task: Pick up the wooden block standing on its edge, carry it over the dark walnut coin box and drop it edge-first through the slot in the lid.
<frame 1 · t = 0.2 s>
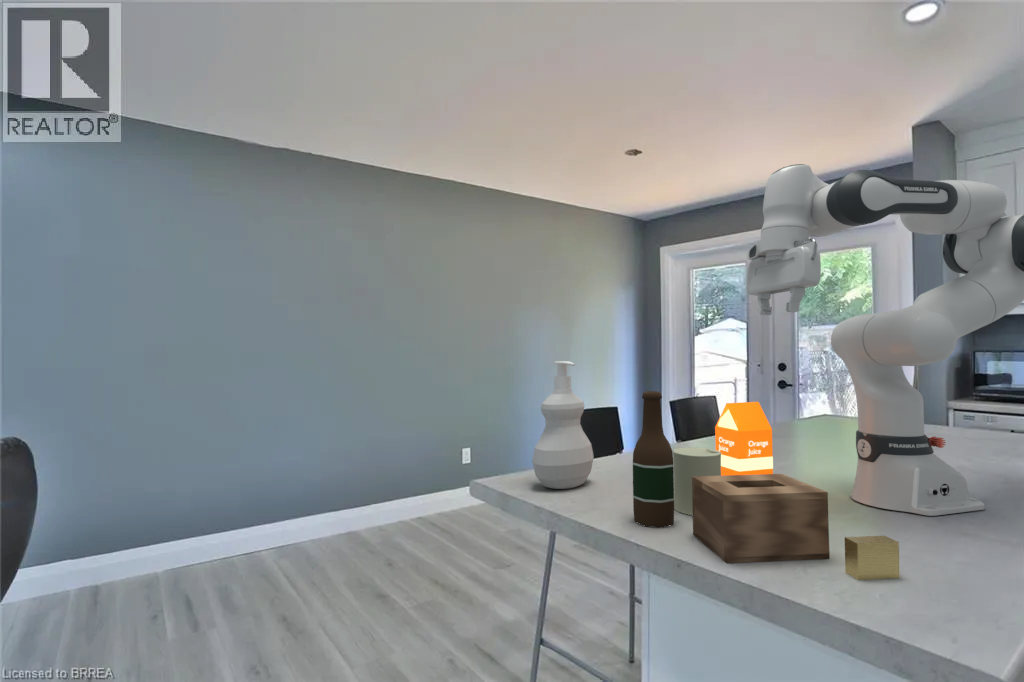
hand: (778, 313, 106), 39 cm above the countertop, tool pointing down, fingers open, 8 cm apart
beer bottle: (654, 522, 98), on the countertop
can: (697, 510, 105), on the countertop
coin box: (756, 546, 85), on the countertop
orange juice: (744, 494, 116), on the countertop
soap bottle: (563, 486, 125), on the countertop
wooden block: (872, 575, 74), on the countertop
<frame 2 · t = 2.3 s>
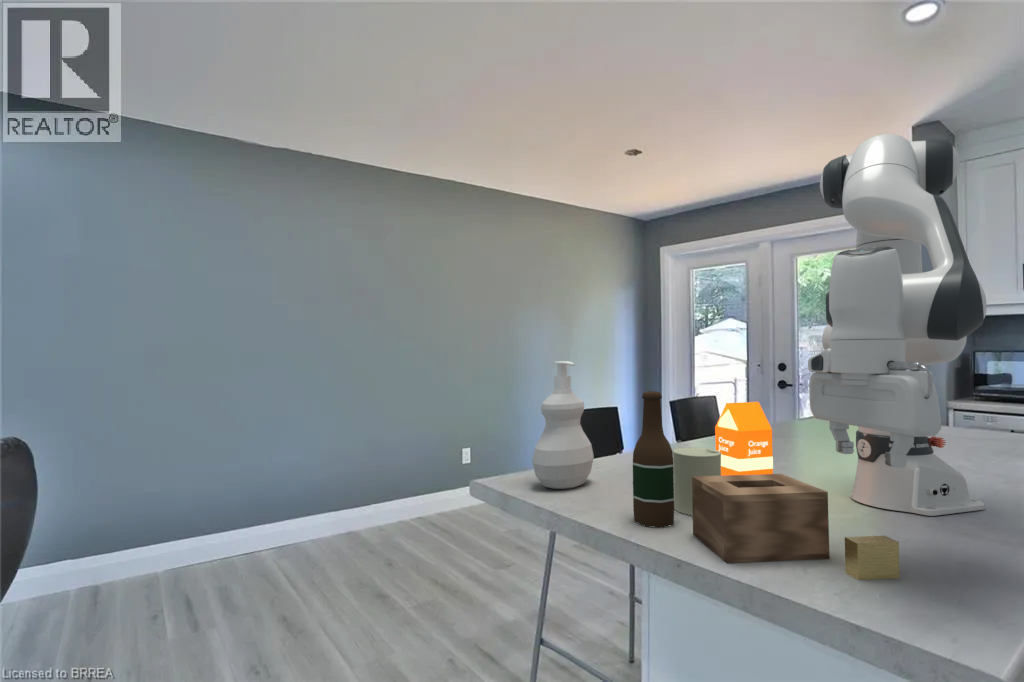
hand: (868, 459, 74), 16 cm above the countertop, tool pointing down, fingers open, 8 cm apart
nothing on the countertop moved.
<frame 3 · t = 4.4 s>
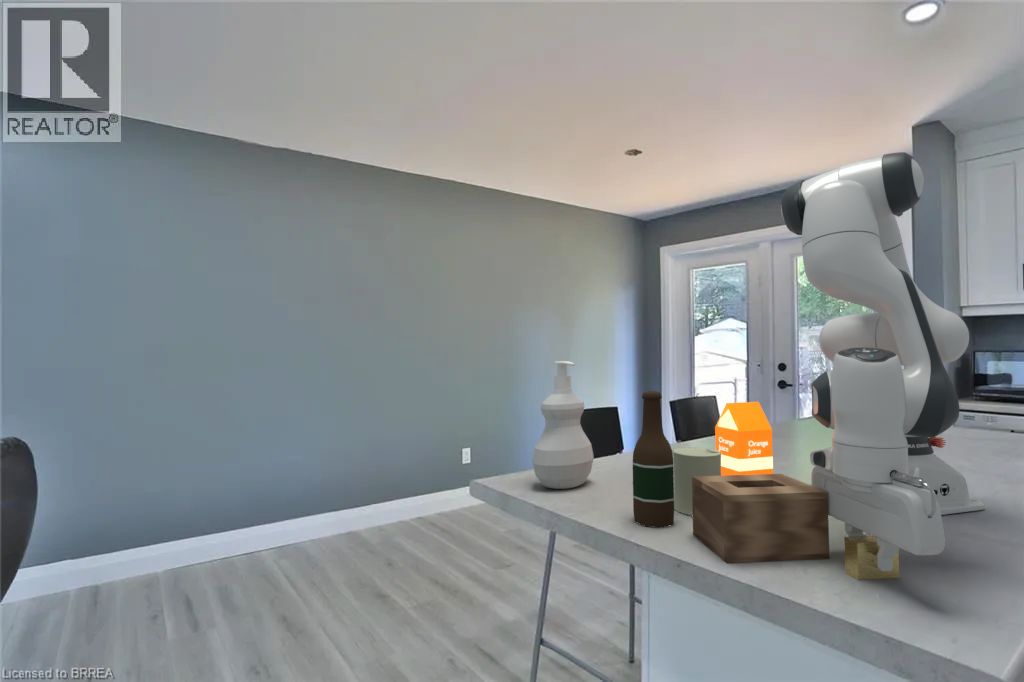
hand: (871, 563, 74), 2 cm above the countertop, tool pointing down, fingers closed on wooden block, 2 cm apart
wooden block: (872, 575, 74), on the countertop, touching gripper
everything else where it was.
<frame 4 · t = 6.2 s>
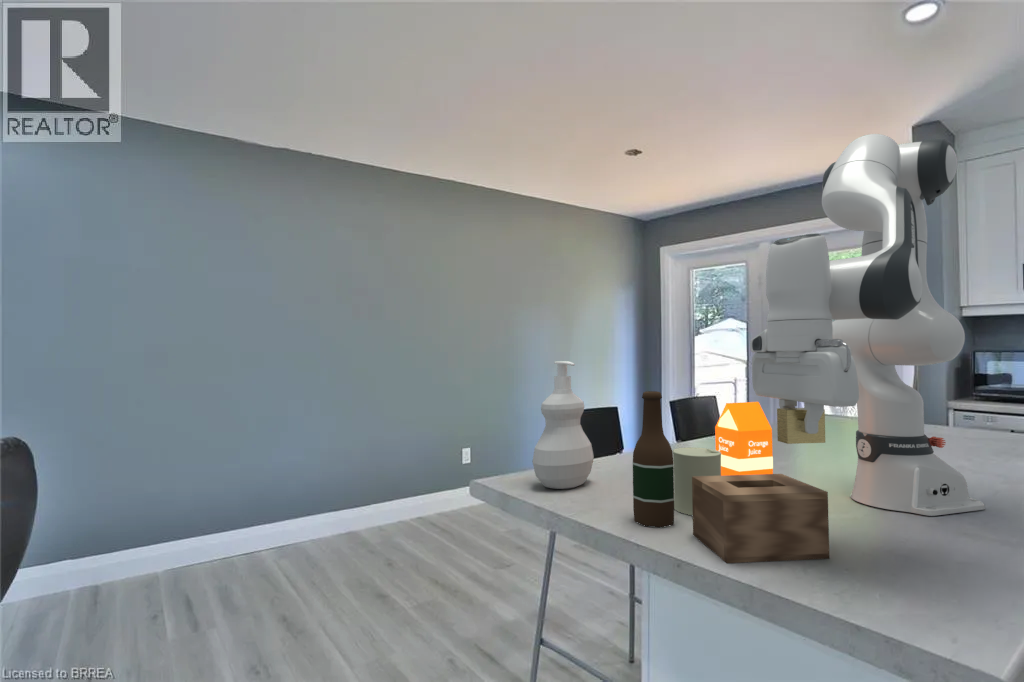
hand: (801, 431, 80), 19 cm above the countertop, tool pointing down, fingers closed on wooden block, 2 cm apart
wooden block: (801, 441, 80), point 18 cm above the countertop, touching gripper
everything else where it was.
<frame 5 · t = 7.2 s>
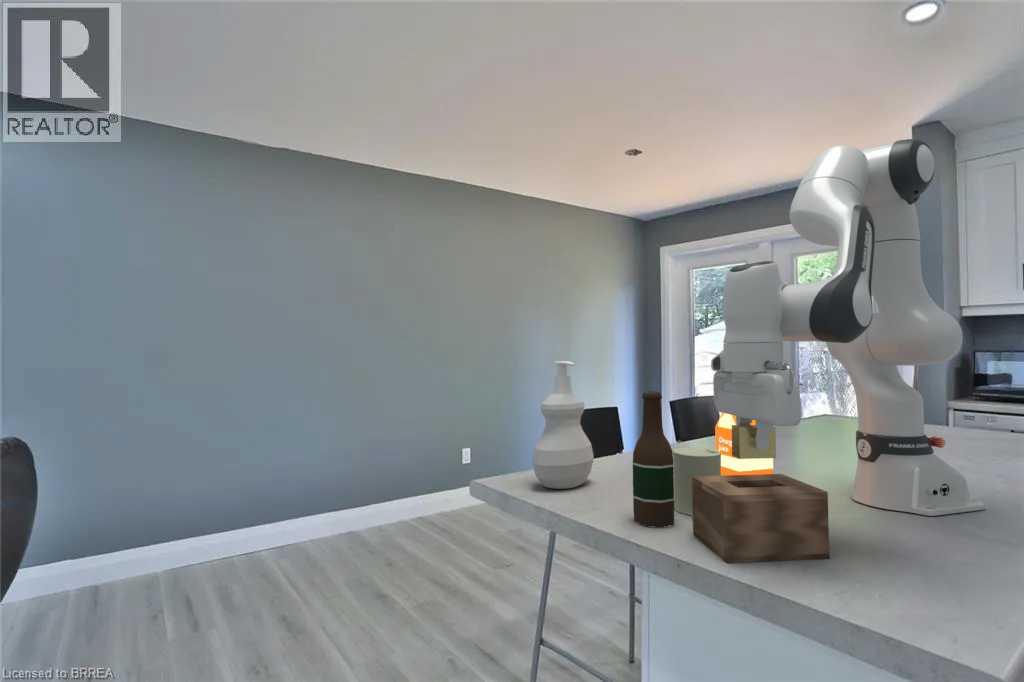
hand: (754, 447, 85), 16 cm above the countertop, tool pointing down, fingers closed on wooden block, 2 cm apart
wooden block: (753, 457, 85), point 14 cm above the countertop, touching gripper
everything else where it was.
when the fingers open (11 cm above the countertop, at t = 8.0 s): wooden block drops 9 cm, resting on coin box.
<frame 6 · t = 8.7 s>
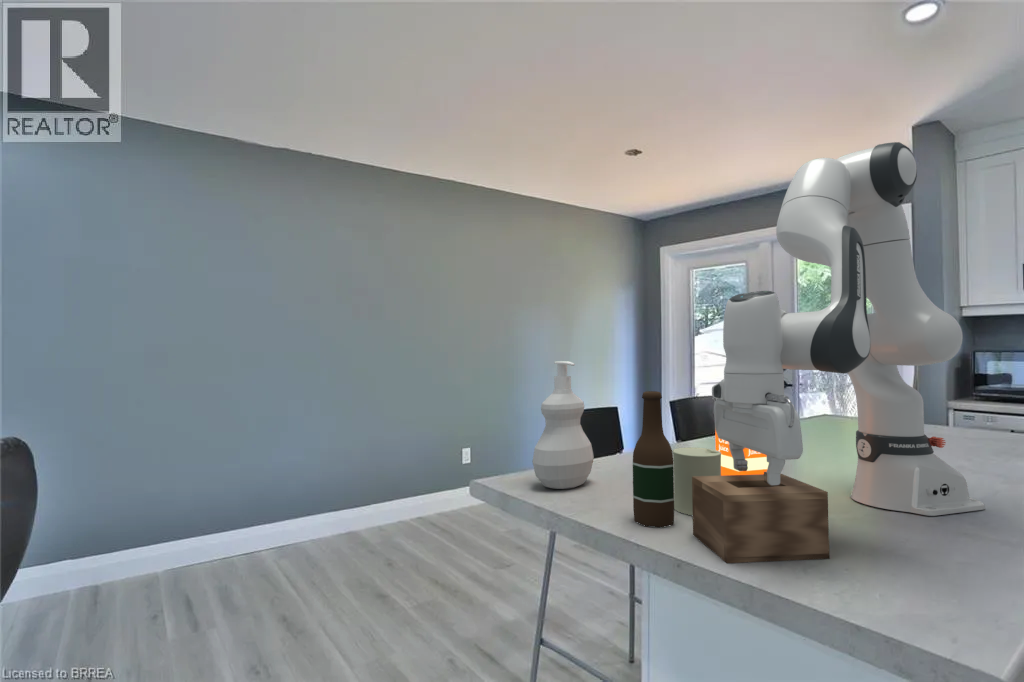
hand: (755, 476, 85), 11 cm above the countertop, tool pointing down, fingers open, 8 cm apart
wooden block: (756, 541, 85), point 1 cm above the countertop, touching coin box
everything else where it was.
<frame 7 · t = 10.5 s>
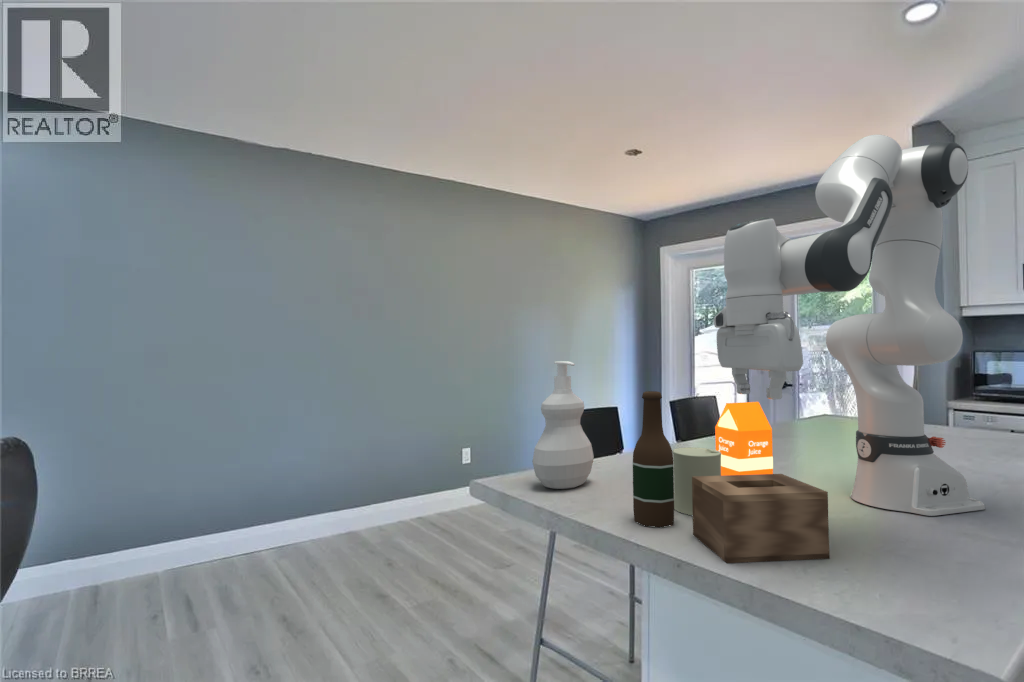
hand: (758, 396, 89), 24 cm above the countertop, tool pointing down, fingers open, 8 cm apart
nothing on the countertop moved.
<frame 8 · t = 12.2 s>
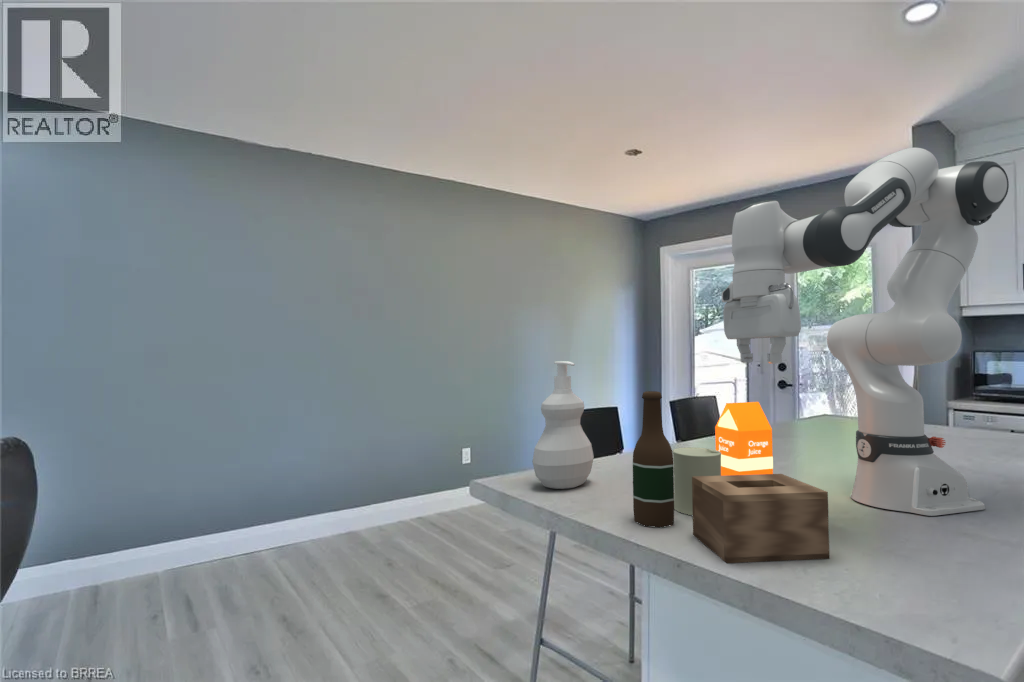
hand: (760, 363, 98), 29 cm above the countertop, tool pointing down, fingers open, 8 cm apart
nothing on the countertop moved.
at the end: wooden block inside the target area on the coin box (0.0 cm from its centre), point 0.8 cm above the coin box's base; the gripper is holding nothing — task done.
